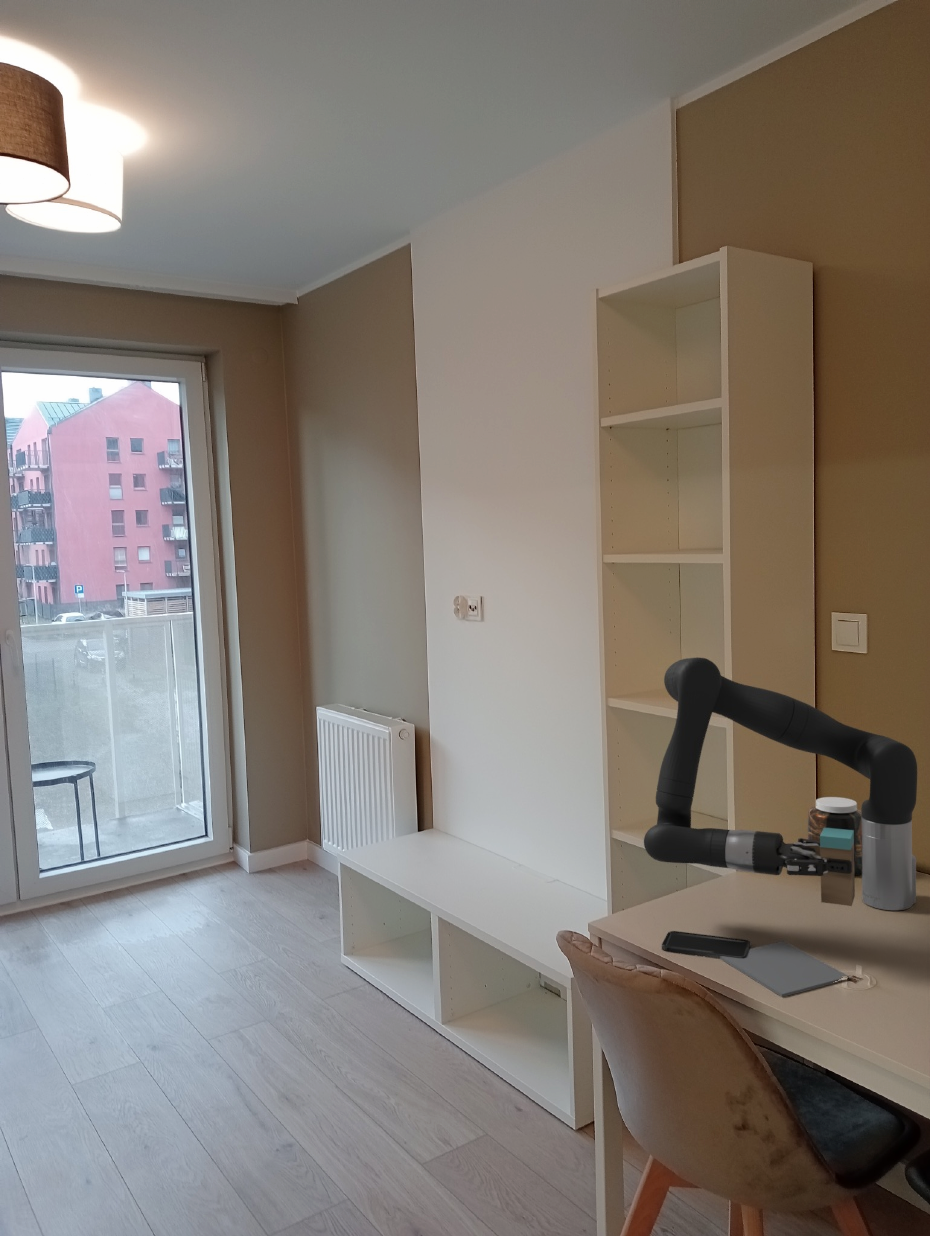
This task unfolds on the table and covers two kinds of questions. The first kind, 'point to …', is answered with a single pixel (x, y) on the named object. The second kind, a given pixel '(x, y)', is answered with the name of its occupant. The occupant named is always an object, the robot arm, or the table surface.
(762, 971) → the grey mat
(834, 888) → the walnut block
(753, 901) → the table surface
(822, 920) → the table surface
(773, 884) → the table surface
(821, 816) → the jar
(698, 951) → the phone
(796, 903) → the table surface
